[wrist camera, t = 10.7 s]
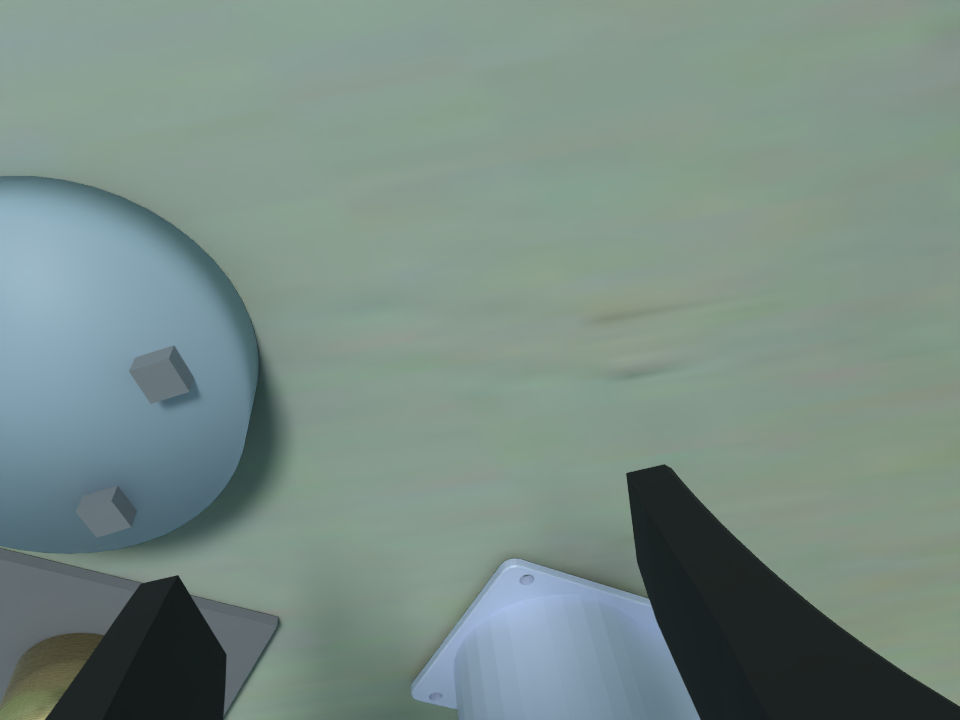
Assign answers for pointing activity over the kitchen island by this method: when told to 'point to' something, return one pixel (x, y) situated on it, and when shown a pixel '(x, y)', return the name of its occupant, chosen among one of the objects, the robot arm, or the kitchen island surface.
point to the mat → (104, 614)
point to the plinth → (112, 371)
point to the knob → (46, 675)
